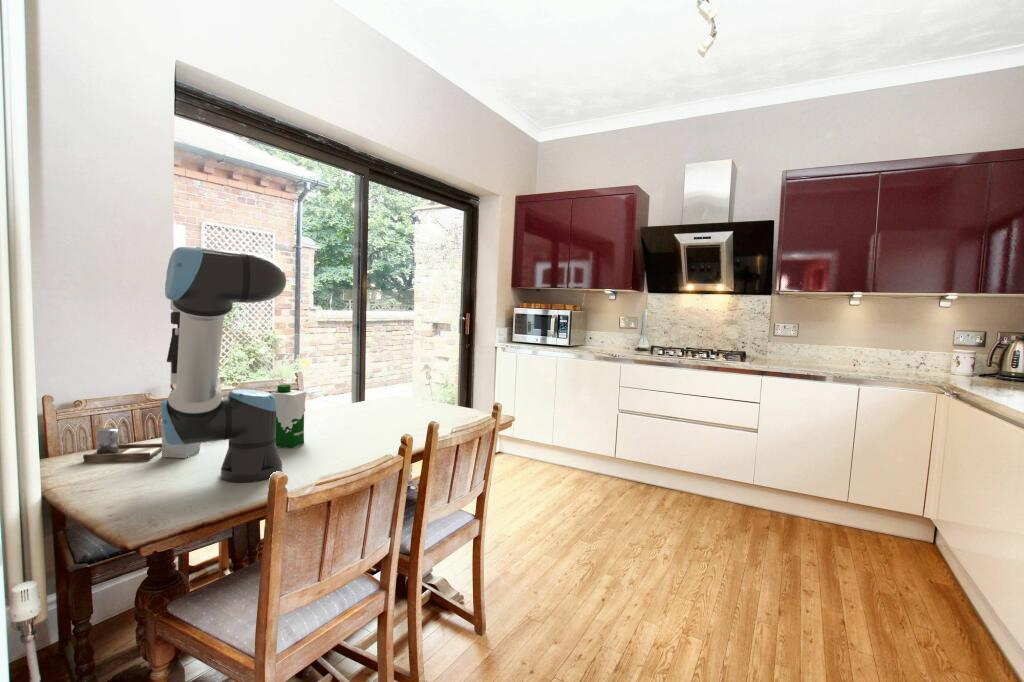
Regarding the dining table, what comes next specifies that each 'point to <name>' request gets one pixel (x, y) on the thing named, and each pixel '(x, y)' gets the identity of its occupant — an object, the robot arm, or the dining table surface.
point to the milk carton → (289, 416)
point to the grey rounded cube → (108, 440)
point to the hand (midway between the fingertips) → (185, 380)
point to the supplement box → (178, 449)
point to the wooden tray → (127, 453)
